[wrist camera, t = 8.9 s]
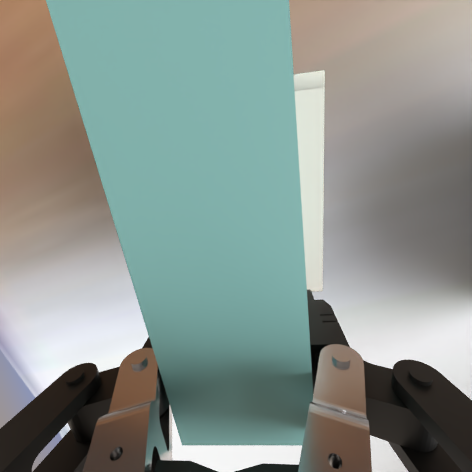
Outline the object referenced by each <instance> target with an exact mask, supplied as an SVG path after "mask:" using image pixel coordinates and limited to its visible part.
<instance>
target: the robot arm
mask: <svg viewBox="0 0 472 472" xmlns="http://www.w3.org/2000/svg"><path fill="white" fill-rule="evenodd" d="M307 301H308V317H309V333H310V349H311V366H312V382H313V394H314V395H313V400H312V402H310V405H309V410H308V415H307V421H306V427H305V433H304V439H303V445H302V451H301V457H300V463H299V465H288V464H260V465H256V466H253V467H249V468H246V469H242V470H239V471H235V472H372V467H371V449H370V435H372V436H375V437H377V438H380V439H383V440H386V441H388V442H389V444H390V445H391V447H392V448H393V450H394V451H395V452H396V454H397V455H398V457H399V458H400V460H401V461H402V463H403V464H404V466H405V467H406V468H407V470H408V471H409V472H472V400H470V399H469V398H468V397H467V396H466V395H465V394H464V393H462V392H461V391H460V390H459V389H458V388H457V387H455V386H454V385H453V384H452V383H451V382H450V381H449V380H447V379H446V378H445V377H444V376H443V375H442V374H441V373H439V372H438V371H437V370H435V369H434V368H432V367H431V366H429V365H427V364H424V363H422V362H419V361H414V360H401V361H398V362H397V363H396V364H395V365H394V367H393V369H389V368H385V367H381V366H377V365H373V364H370V363H368V362H366V361H364V360H363V359H362V357H361V356H360V355H359V354H358V353H357V352H356V351H355V350H353V349H352V348H350V346H349V344H348V342H347V340H346V338H345V336H344V333H343V331H342V329H341V327H340V325H339V323H338V321H337V318H336V316H335V315H334V312H333V310H332V308H331V306H330V305H329V304H328V303H326V302H325V301H324V300H314V298H313V295H312V292H311V290H310V289H309V290H307ZM67 423H68V425H69V427H70V429H71V430H70V431H69V432H68V433H67V434H66V435H65V436H64V437H63V439H62V440H61V441H60V442H59V443H58V444H57V445H56V447H55V448H54V449H53V450H52V451H51V452H50V453H49V454H48V455H47V456H46V458H45V459H44V460H43V461H42V462H41V463H40V464H39V465H38V466H37V468H36V469H35V470H34V471H33V472H217V471H215V470H212V469H210V468H207V467H204V466H202V465H199V464H197V463H194V462H192V461H172V410H171V406H170V403H169V400H168V397H167V393H166V390H165V387H164V384H163V380H162V377H161V374H160V371H159V367H158V364H157V361H156V358H155V354H154V351H153V348H152V345H151V341H150V338H148V339H147V341H146V343H145V344H144V346H143V348H142V349H139V350H136V351H134V352H132V353H131V354H129V355H128V356H127V357H126V358H125V359H124V360H123V361H122V363H121V365H120V367H117V368H113V369H110V370H106V371H103V372H98V369H97V367H96V365H95V364H93V363H84V364H80V365H77V366H75V367H73V368H71V369H69V370H68V371H66V372H65V373H64V374H62V375H61V376H60V377H59V378H58V379H57V380H56V381H54V382H53V383H52V384H51V385H50V386H49V387H48V388H46V389H45V390H44V391H43V392H42V393H41V394H40V395H38V396H37V397H36V398H35V399H34V400H33V401H32V402H30V403H29V404H28V405H27V406H26V407H25V408H24V409H22V410H21V411H20V412H19V413H18V414H17V415H16V416H14V417H13V418H12V419H11V420H10V421H9V422H7V423H6V424H5V425H4V426H3V427H2V428H1V429H0V472H32V465H33V463H34V460H35V458H36V457H37V456H38V454H39V453H40V452H41V451H42V450H43V448H44V447H45V446H46V445H47V444H48V443H49V442H50V441H51V440H52V439H53V438H54V437H55V435H57V433H58V432H59V431H60V430H61V429H62V428H63V427H64V426H65V425H66V424H67Z"/></svg>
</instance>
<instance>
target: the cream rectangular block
mask: <svg viewBox="0 0 472 472" xmlns="http://www.w3.org/2000/svg"><path fill="white" fill-rule="evenodd" d="M294 91H295V107H296V123H297V139H298V155H299V171H300V188H301V204H302V220H303V236H304V252H305V269H306V285H307V290H309V289H310V290H311V292H313V291H323V200H324V93H325V70H322V71H315V72H308V73H301V74H294Z"/></svg>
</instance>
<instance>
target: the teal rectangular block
mask: <svg viewBox="0 0 472 472" xmlns="http://www.w3.org/2000/svg"><path fill="white" fill-rule="evenodd" d="M46 2H47V5H48V9H49V12H50V15H51V18H52V22H53V25H54V28H55V32H56V35H57V38H58V41H59V45H60V48H61V51H62V54H63V58H64V61H65V64H66V67H67V71H68V74H69V77H70V80H71V84H72V87H73V90H74V93H75V97H76V100H77V103H78V107H79V110H80V113H81V116H82V120H83V123H84V126H85V129H86V133H87V136H88V139H89V142H90V146H91V149H92V152H93V155H94V159H95V162H96V165H97V168H98V172H99V175H100V178H101V182H102V185H103V188H104V191H105V195H106V198H107V201H108V204H109V208H110V211H111V214H112V217H113V221H114V224H115V227H116V230H117V234H118V237H119V240H120V243H121V247H122V250H123V253H124V257H125V260H126V263H127V266H128V270H129V273H130V276H131V279H132V283H133V286H134V289H135V292H136V296H137V299H138V302H139V305H140V309H141V312H142V315H143V318H144V322H145V325H146V328H147V331H148V335H149V338H150V341H151V345H152V348H153V351H154V354H155V358H156V361H157V364H158V367H159V371H160V374H161V377H162V380H163V384H164V387H165V390H166V393H167V397H168V400H169V403H170V406H171V410H172V413H173V416H174V420H175V423H176V426H177V429H178V433H179V436H180V439H181V442H182V445H303V439H304V433H305V427H306V421H307V415H308V410H309V405H310V402H312V400H313V382H312V366H311V349H310V333H309V317H308V301H307V285H306V269H305V252H304V236H303V220H302V204H301V188H300V171H299V155H298V139H297V123H296V107H295V91H294V74H293V58H292V42H291V26H290V10H289V0H46Z"/></svg>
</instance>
